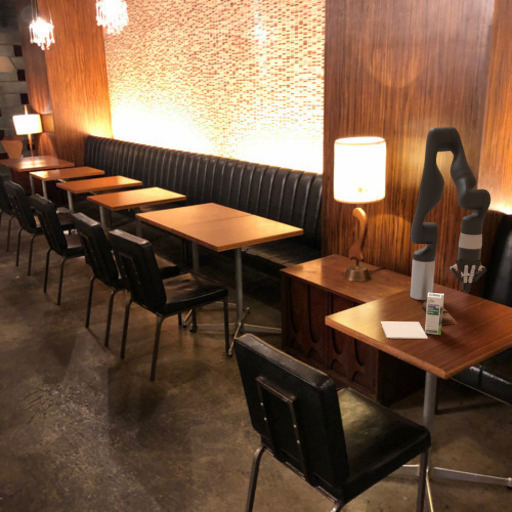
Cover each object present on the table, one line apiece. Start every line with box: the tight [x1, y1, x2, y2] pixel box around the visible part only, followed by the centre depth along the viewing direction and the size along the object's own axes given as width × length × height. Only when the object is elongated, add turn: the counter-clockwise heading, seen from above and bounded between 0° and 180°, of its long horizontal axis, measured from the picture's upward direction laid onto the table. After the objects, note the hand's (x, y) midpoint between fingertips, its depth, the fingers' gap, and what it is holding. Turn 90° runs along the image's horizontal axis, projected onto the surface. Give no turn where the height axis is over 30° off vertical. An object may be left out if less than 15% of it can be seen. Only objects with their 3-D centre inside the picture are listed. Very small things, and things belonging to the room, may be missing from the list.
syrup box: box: [424, 292, 445, 336], centre depth 199 cm, size 6×6×14 cm
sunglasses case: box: [421, 300, 458, 325], centre depth 216 cm, size 18×7×7 cm, turn 3°
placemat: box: [380, 320, 429, 340], centre depth 202 cm, size 15×14×1 cm
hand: (465, 291), depth 196 cm, fingers closed
